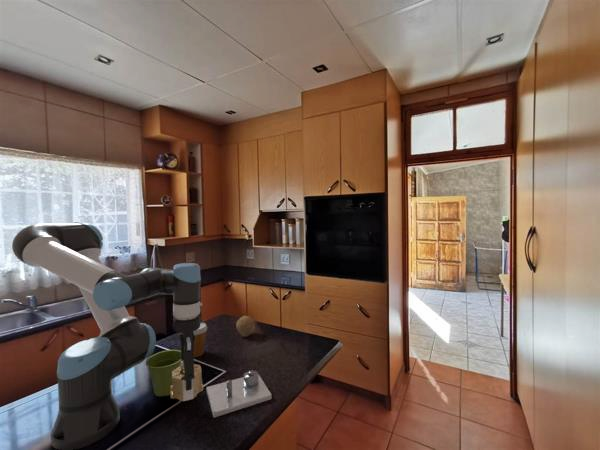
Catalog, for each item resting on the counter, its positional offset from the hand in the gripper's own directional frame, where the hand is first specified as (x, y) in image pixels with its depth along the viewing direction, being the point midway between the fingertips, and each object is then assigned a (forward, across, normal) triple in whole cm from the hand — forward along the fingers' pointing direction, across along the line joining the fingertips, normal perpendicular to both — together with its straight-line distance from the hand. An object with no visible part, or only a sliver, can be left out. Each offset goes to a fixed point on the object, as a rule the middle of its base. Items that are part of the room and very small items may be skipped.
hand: (186, 389), depth 84 cm
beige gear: (0, 0, 0) cm, 0 cm away
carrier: (+6, 0, -16) cm, 17 cm away
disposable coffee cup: (+8, +37, -7) cm, 39 cm away
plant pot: (+7, +14, +5) cm, 17 cm away
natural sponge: (+7, +45, -31) cm, 55 cm away
